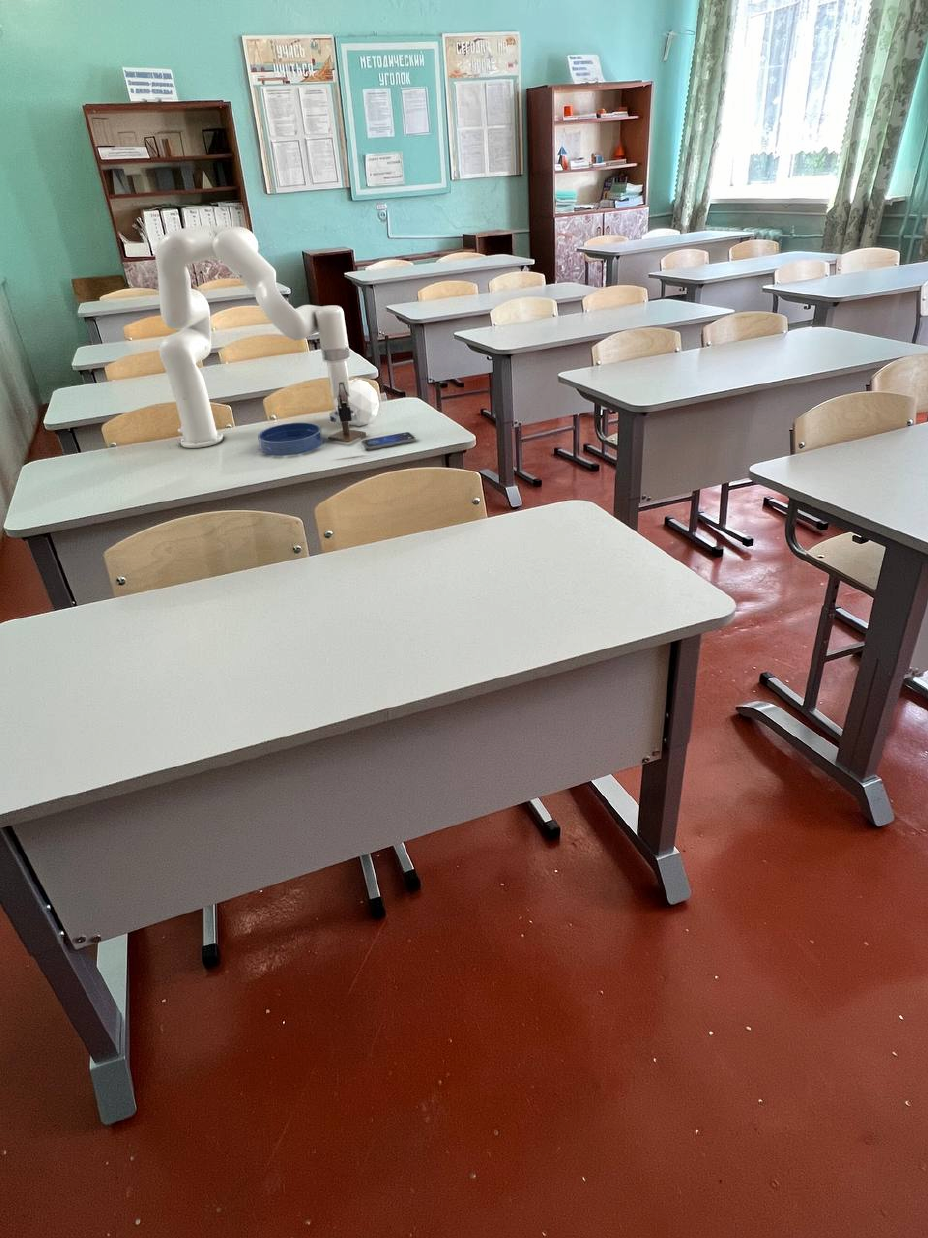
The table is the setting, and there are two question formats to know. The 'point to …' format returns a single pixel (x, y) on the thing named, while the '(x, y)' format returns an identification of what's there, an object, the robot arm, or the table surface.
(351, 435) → the peg board base
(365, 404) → the geodesic sphere
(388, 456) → the table surface
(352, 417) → the ring
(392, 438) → the smartphone
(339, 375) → the robot arm
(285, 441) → the bowl
